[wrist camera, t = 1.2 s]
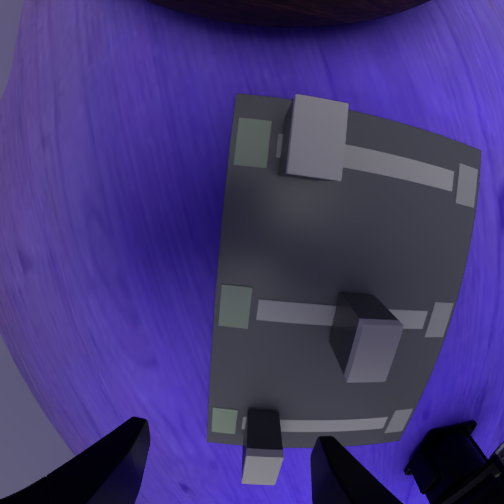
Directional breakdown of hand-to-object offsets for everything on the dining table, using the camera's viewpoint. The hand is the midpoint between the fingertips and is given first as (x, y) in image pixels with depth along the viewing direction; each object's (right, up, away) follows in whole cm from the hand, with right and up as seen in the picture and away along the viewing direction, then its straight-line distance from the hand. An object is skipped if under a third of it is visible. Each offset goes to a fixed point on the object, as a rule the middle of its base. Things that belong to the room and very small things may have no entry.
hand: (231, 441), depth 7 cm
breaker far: (+1, -6, +11) cm, 13 cm away
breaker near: (+3, +10, +7) cm, 13 cm away
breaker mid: (+6, +1, +9) cm, 11 cm away
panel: (+6, +2, +11) cm, 13 cm away
